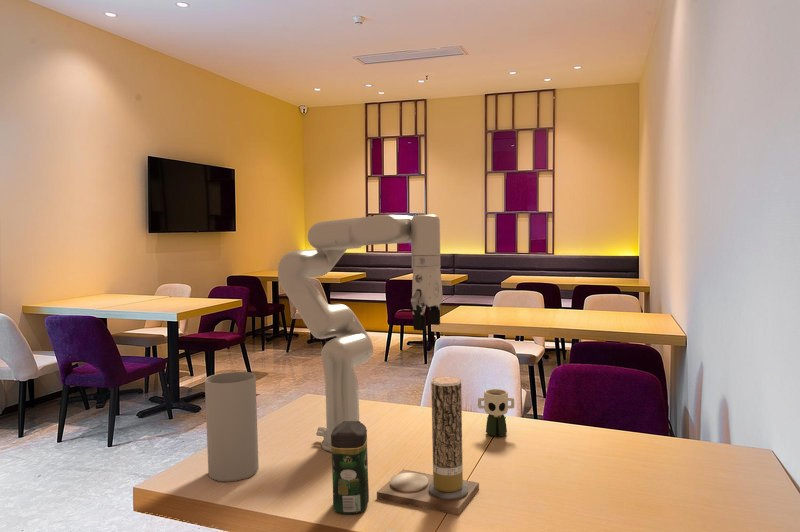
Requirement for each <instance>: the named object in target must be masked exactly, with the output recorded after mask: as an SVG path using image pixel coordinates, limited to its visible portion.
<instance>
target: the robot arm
mask: <svg viewBox="0 0 800 532" xmlns="http://www.w3.org/2000/svg"><path fill="white" fill-rule="evenodd" d="M440 223H441V222H440V218H439V216H438V215H436V214H418V215H414V216H413V215H405V214H404V215H403V214H381V215H380V214H379V215H373V216H364V217H363V216H362V217H351V218H342V219H335V220H332V219H331V220H324V221H319V222H316V223H314V224H313V225H311V227H310V228H309V229H308V231H307V240H308V243H309V245H310V246H312V247H313V248H314V249H313V248H312V249H298V250H296V249H295V250H291V251H289V252H287V253H285V254H284V255H283V256H282V257H281V259H280V260H279V262H278V266H277V278H278V283H279V285H280V287H281V288H282V291H283V292H284V293H285V295H286V296H287V298H288V299H289V301H290V302H291V303H292V305H293V306H294V307H295V309H296V312H297V313H298V314H299V316H300V318H301V319H302V320H303V323H304V324H305V326H306V327H307V329H308V331H309V332H310V334H311V335H312V336H313V337H314V338H316V339H318V340H319V339H320V340H323V339H324V340H325V339H330V338H332V339H330V340H329V341H327V342H326V343H325V344H324V345H323V346H322V348H321V349H322V350H321V352H320V358H321V364H322V369H323V374H324V387H325V415H326V417H325V418H326V422H325V423H326V424H325V425H326V427H323V426H318V427H317V430H316V433H315V434H316V436H317V437H323V440H322V441H321V448H322V449H323V450H324V451H327V452H329V453H332V452H331V433H332V431H333V429H334V428H335V427H336V426H337V425H339V424H340V423H342V422H343V421H360V401H359V400H360V397H359V396H360V395H359V394H360V393H359V381H358V377H357V375H356V373H355V369H354V368H355V367H357V366H360V365H362V364H365V363H367V362H369V360H370V359H371V358H372V356H373V353H374V346H373V345H374V344H373V342H372V339H371V337H370V336H369V334H368V333H367V331H366V330H365V328H364V326H363V325H362V323H361V322H360V320H359V318H358V316H356V313H354V311H353V310H352V309H351V308H350V307H349V306H347V305H345V304H344V303H343V304H342V303H332V304H329V303H328V302H327V301H326V300H325V298H324V296H323V295H322V293H321V291H320V290H319V289H318V288H317V286H315V285H314V284H312V283H311V282H310V281H309V280H308V279H310V278H319V277H324V276H325V275H327V274H328V273H329V272H331V271H332V270H333V268H334V267H335V266H336V264H337V263H338V262H339V261H340V259H341V258H342V256H343V255H344V254H345V253H346V251H347V250H350V249H353V250H354V249H360V248H361V247H363V246H372V245H373V246H376V245H393V244H409V243H411V269H412V270H413V271H412V281H411V282H412V284H411V285H412V287H411V288H412V289H411V293H412V294H411V298H410V302H411V303H410V304H411V310H412V311H411V312H412V313H411V314H412V315H413V316H412V317H413V318H412V319H413V321H412V322H413V324H412V325H413V326H412V328H413V330H414V331H426V329H427V328H426V327H427V326H426V323H427V322H426V321H427V320H426V319H427V318H426V317H427V316H426V314H425V312H426V308H427V307H428V308H429V309H428V310H427V311H428V312H427V314H428V325H431V326H432V325H435V326H439V325H440V324H441V304H442V303H443V301H444V298H443V281H442V280H443V279H442V273H441V272H442V271H441V224H440ZM333 337H334V338H333Z"/></svg>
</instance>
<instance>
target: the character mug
mask: <svg viewBox="0 0 800 532" xmlns="http://www.w3.org/2000/svg"><path fill="white" fill-rule="evenodd" d="M509 401H510V405H509ZM482 402H483V404H482ZM477 408H478V409H483V411H484V412H485V413H486V414H488V415H487V418H486V426H485V432H486V434H487V435H489V436H493V437H496V436H497V434H498V436H499V437H503V436H506V435H507V433H508V429H507V423H506V422H507V420H506V416H505V415H506V414H507V413H508V411H509V410H510V409H514V408H515V398H514V397H509V392H508V391H507V390H504V389H500V388H499V389H498V388H490V389H486V390H484V392H483V397H478V398H477Z"/></svg>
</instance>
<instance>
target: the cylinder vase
mask: <svg viewBox="0 0 800 532" xmlns="http://www.w3.org/2000/svg"><path fill="white" fill-rule="evenodd" d="M256 383H257V380H256V374H255V373H253V372H249V371H229V372H220V373H216V374H212V375H209V376H207V377H206V378H205V379H204V393H205V394H204V395H205V398H204V399H205V420H206V421H205V422H206V443H207V444H206V446H207V448H206V449H207V468H208V470H207V473H208V476H209V478H211V479H212V480H213V479H214V481H216V480H217V482H221V481H233V482H237V480H239V481H242V480H241V479H243V480H245V478H246V479H248V478H250V477H252V476H254V475H255V474H256V473H257V472H258V470H259V466H260V465H259V443H258V442H259V440H258V439H259V438H258V435H259V434H258V409H257V407H258V405H257V404H258V403H257V384H256ZM247 477H248V478H247Z"/></svg>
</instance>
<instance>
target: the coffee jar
mask: <svg viewBox="0 0 800 532" xmlns="http://www.w3.org/2000/svg"><path fill="white" fill-rule="evenodd" d="M367 432H368V430H367V427H366V425H365V424H363V423H362V422H361V421H360V420H359V421H343V422H342V423H340V424H339V425H337V426H336V427H335V428H334V429H333V431H332V433H331V452H330V453H331V468H332V469H331V472H332V473H331V474H332V507H333V510H334V511H335V512H337V513H339V514H342V515H354V514H357V513H362V512H364V511H365V509H366V508H367V507H368V503H369V501H370V500H369V499H370V492H369V491H370V489H369V467H368V466H369V465H368V461H369V460H368V458H369V457H368V434H367Z"/></svg>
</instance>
